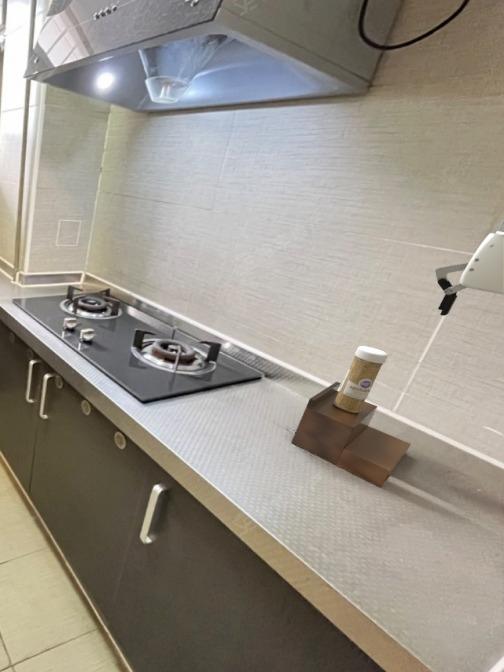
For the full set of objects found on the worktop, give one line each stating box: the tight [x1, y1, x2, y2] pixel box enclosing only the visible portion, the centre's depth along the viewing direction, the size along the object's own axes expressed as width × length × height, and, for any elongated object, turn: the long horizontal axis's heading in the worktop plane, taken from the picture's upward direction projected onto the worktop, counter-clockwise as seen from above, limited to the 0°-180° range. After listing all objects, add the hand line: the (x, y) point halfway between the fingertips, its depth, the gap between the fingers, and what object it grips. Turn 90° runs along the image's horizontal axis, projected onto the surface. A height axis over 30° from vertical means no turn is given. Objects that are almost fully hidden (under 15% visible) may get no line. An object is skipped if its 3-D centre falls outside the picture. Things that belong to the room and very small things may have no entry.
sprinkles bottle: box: [333, 345, 389, 413], centre depth 79 cm, size 5×5×13 cm
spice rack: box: [290, 381, 412, 489], centre depth 81 cm, size 15×16×11 cm
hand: (480, 322), depth 72 cm, fingers open, 9 cm apart
